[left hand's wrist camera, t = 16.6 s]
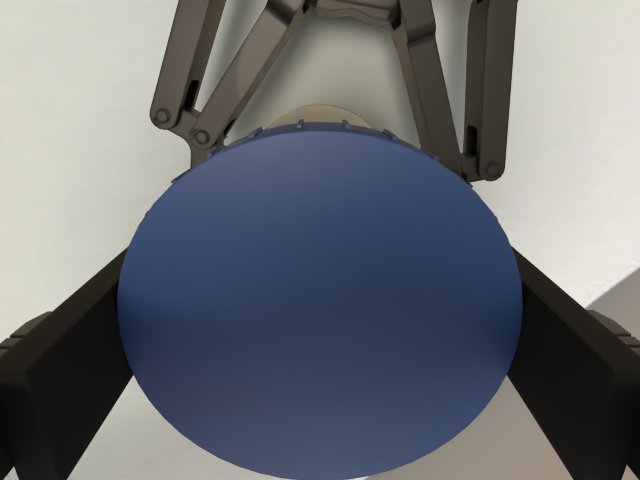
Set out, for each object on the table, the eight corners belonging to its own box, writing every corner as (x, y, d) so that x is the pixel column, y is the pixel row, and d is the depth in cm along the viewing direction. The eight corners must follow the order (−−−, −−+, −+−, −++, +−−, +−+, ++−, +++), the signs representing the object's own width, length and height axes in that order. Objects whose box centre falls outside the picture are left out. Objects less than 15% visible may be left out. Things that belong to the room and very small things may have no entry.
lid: (223, 459, 14) (210, 513, 13) (79, 185, 11) (32, 205, 9) (516, 390, 13) (547, 439, 11) (460, 62, 10) (491, 58, 8)
